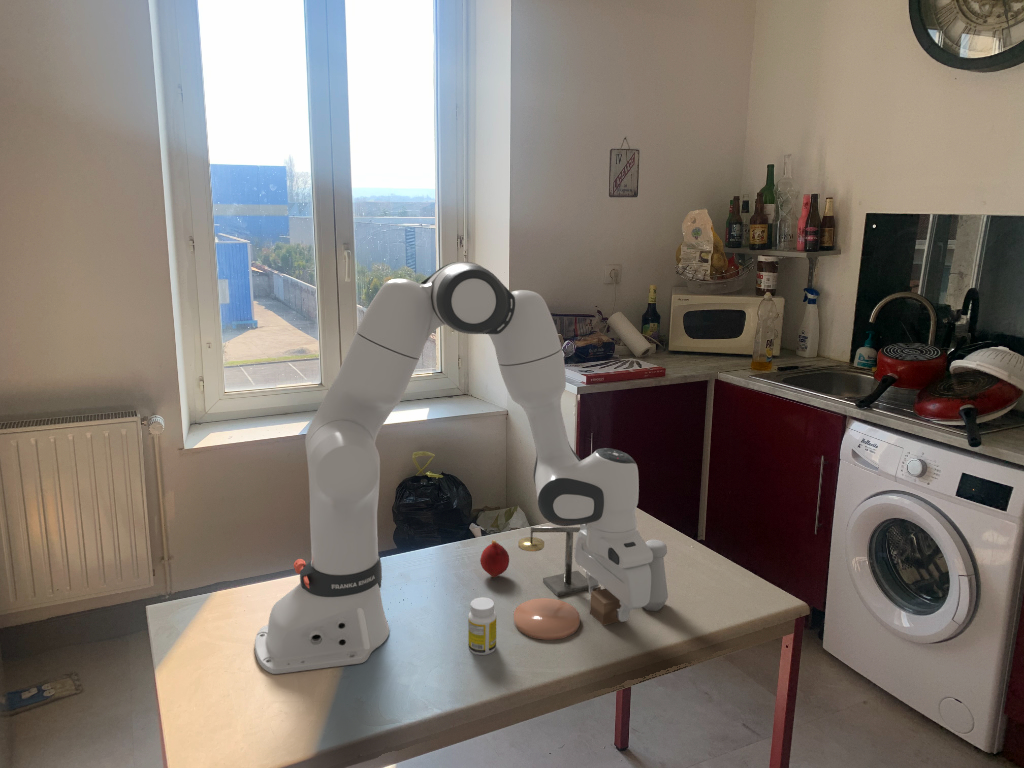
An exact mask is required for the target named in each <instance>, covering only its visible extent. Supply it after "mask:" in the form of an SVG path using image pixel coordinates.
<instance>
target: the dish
mask: <svg viewBox="0 0 1024 768" xmlns="http://www.w3.org/2000/svg"><path fill="white" fill-rule="evenodd" d="M580 622H581V621H580V613H579V611H578V610H577V608H576V607H575V606H573V605H572V604H569V603H568V602H566V601H563V600H560V599H556V598H548V597H542V598H541V597H540V598H533V599H529V600H527V601H524V602H522V603H520V604H519V605H517V607H516V608H515V609H514V612H513V624H514V627H515V628H516V629H517V630H518V631H519V632H520V633H522V634H524V635H525V636H527V637H529V638H532V639H533V638H534V639H537V640H538V639H539V640H543V641H546V640H547V641H555V640H562V639H565V638H568V637H570V636H572V635H573V634H575V633H576V632H577V631H578V629H580V624H581V623H580Z"/></svg>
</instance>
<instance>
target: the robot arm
mask: <svg viewBox="0 0 1024 768" xmlns="http://www.w3.org/2000/svg"><path fill="white" fill-rule="evenodd" d="M443 326H447V327H449V328H450V329H453V330H454V331H456V332H459V333H461V334H467V335H468V334H469V335H488V336H489V338H490V340H491V342H492V345H493V346H494V347H493V348H494V350H495V355H496V359H497V363H498V367H499V370H500V374H501V376H502V380H503V382H504V385H505V387H506V389H507V392H508V394H509V396H510V397H511V399H512V401H514V402H515V403H516V404H517V405H519V406H520V407H522V409H523V411H524V412H525V414H526V417H527V419H528V423H529V427H530V430H531V435H532V438H533V442H534V446H535V451H536V456H535V457H536V458H535V463H534V467H533V476H532V478H533V483H534V487H535V490H536V499H537V505H538V509H539V512H540V514H541V515H542V517H543V518H544V519H545V520H546V521H548V522H549V523H551V524H553V525H555V526H557V527H574V526H579V525H580V526H579V527H580V531H579V532H577V534H576V537H575V538H576V539H575V544H574V555H573V556H574V560H575V563H576V565H577V566H579V567H580V568H581V569H582V570H584V571H585V577H586V578H587V581H588V585H589V589H588V593H589V595H591V592H592V591H596V590H601V588H602V587H603V588H604V589H605V588H606V589H607V590H608V591H609V592H610V593H612V594H613V595H614V596H615V597H616V598H618V599H619V600H620V605H621V608H620V609H616V617H617V618H618V619H619V620H620V621H619V622H623V623H624V622H626V621H628V620H629V617H630V611H631V610H636V609H640V608H643V607H644V606H646V605H647V604H648V603H649V600H650V591H651V570H650V567H649V565H648V563H650V562H652V560H653V553H652V551H651V549H650V548H649V547H648V546H647V544H646V543H645V542H646V541H645V540H644V539H643V537H642V535H641V534H640V532H639V530H638V522H637V516H636V509H637V506H638V504H639V492H640V489H639V486H640V484H639V483H640V482H639V481H640V479H639V477H640V476H639V469H638V465H637V463H636V461H635V460H634V458H633V457H631V456H630V455H629V453H626V452H623V451H622V450H618V449H614V448H609V447H608V448H607V447H603V448H598V449H596V450H595V451H594V452H593V453H591V454H590V455H589V456H587V457H585V458H584V459H581V458H580V457H579V456H578V454H577V453H576V452H575V450H573V448H572V447H571V444H570V441H569V438H568V435H567V430H566V426H565V422H564V417H563V413H562V407H561V405H562V404H561V403H562V402H561V401H562V396H563V393H564V392H565V390H566V388H567V386H566V385H567V383H566V382H567V381H566V379H567V377H566V366H565V365H566V364H565V358H564V353H563V349H562V344H561V341H560V337H559V334H558V330H557V327H556V325H555V321H554V320H553V315H552V314H551V312H550V309H549V307H548V305H547V303H546V301H545V299H544V298H543V297H542V295H541V294H539V293H538V292H535V291H532V290H528V289H526V290H525V289H518V290H514V291H510V290H509V289H508V287H506V286H505V285H504V284H503V282H502V281H501V280H500V279H499V278H498V277H497V276H496V275H495V274H494V273H493V272H492V271H490V270H489V269H487V268H485V267H483V266H482V265H480V264H478V263H475V262H472V261H471V262H470V261H454V262H451V263H448V264H445V265H443V266H442V267H440V268H438V269H437V270H435V271H434V272H433V273H432V274H431V275H429V276H428V277H427V278H425V279H424V280H423V281H421V282H420V283H419V282H416V281H414V280H412V279H407V278H393V279H390V280H388V281H387V280H386V282H385V283H383V284H382V285H381V286H380V289H379V290H377V293H376V294H375V296H374V298H373V299H372V300H371V302H370V303H369V305H368V307H367V309H366V310H365V312H364V314H363V315H362V318H361V320H360V322H359V324H358V326H357V328H356V331H355V332H354V333H355V334H354V336H353V337H352V339H351V342H350V345H349V347H348V350H347V352H346V355H345V357H344V359H343V361H342V364H341V365H340V368H339V370H338V373H337V374H336V376H335V379H334V381H333V382H332V384H331V386H330V387H329V389H328V391H327V392H326V394H325V395H324V397H323V399H322V402H321V404H320V405H319V407H318V408H317V411H316V413H315V415H314V417H313V419H312V421H311V423H310V424H309V427H308V429H307V432H306V434H305V438H304V439H305V440H304V444H305V452H306V459H307V470H308V471H307V472H308V487H309V488H308V489H309V526H310V527H309V528H310V531H309V532H310V550H311V551H310V552H311V559H310V560H309V562H307V563H306V561H305V560H304V559H302V558H297V559H296V560H295V561H294V563H293V567H294V571H295V573H296V574H298V575H299V581H300V583H299V584H297V585H296V586H295V587H294V588H293V589H291V590H290V591H289V592H287V593H286V594H285V595H283V597H281V598H280V599H279V600H277V601H276V602H275V603H273V606H272V608H271V610H270V613H269V618H268V624H266V625H263V626H262V627H261V628H260V629H259V630H258V632H257V633H256V636H255V639H254V653H255V657H256V660H257V662H258V664H259V666H261V668H262V669H263V670H265V671H266V672H268V673H270V674H272V675H279V674H286V673H293V672H294V673H295V672H301V671H310V670H312V671H313V670H319V669H326V668H334V667H341V666H349V665H359V664H362V663H364V662H366V661H367V660H368V659H369V657H370V656H371V654H372V652H373V651H374V650H376V649H377V648H379V647H380V646H381V645H382V644H383V643H384V642H386V640H387V638H388V637H389V634H390V625H389V623H388V621H387V617H386V615H385V610H384V605H383V601H382V599H383V598H382V594H381V588H382V580H383V576H382V573H383V569H382V567H383V566H382V562H381V557H380V556H379V547H378V544H379V543H378V542H379V541H378V540H379V539H378V509H379V508H378V507H379V497H380V495H379V493H380V480H381V479H380V478H381V459H380V458H381V457H380V453H379V451H378V448H377V446H376V442H377V441H376V440H377V436H378V435H379V432H380V430H381V429H382V426H383V425H384V424H385V422H386V421H387V420H388V418H389V416H390V415H391V413H392V412H393V410H394V409H395V408H396V407H397V406H398V405H399V404H400V402H401V401H402V399H403V397H404V394H405V392H406V390H407V387H408V385H409V383H410V381H411V378H412V376H413V374H414V371H415V370H416V368H417V365H418V363H419V360H420V358H421V356H422V353H423V351H424V349H425V348H424V347H425V345H426V343H427V341H429V339H430V337H431V335H432V334H433V333H434V332H435V331H436V330H437V329H439V328H441V327H443ZM600 585H601V586H600Z"/></svg>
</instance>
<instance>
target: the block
mask: <svg viewBox="0 0 1024 768" xmlns="http://www.w3.org/2000/svg"><path fill="white" fill-rule="evenodd" d="M589 608H590V610H589V613H590V615H591V616H592V617H593V618H595V620H596V621H597V622H599V623H600V624H601V626H605V625H606V626H607V625H609V624H610V625H611V624H613V623H618V622H621V621H620V620H619V619H618V618H617V617H616V609H620V608H621V605H620V600H619V599H618V598H616V597H615V596H614V595H613V594H612V593H610V592H609V591H608V590H607V589H606V588H605V587H604V588H602V589H601V590H596V591H592V592H591V594H590V607H589Z"/></svg>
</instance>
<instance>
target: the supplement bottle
mask: <svg viewBox="0 0 1024 768" xmlns="http://www.w3.org/2000/svg"><path fill="white" fill-rule="evenodd" d="M469 606H470V608H469V610H470V612H469V613H468V619H467V620H468V621H467V625H468V626H467V627H468V631H467V632H468V633H467V635H468V636H467V638H468V649H469V650H470V651H469V652H471V653H472V654H474V655H478V656H479V655H480V656H485V655H489V654H491V653H493V652H494V651H495V650H496V649H497V613H496V611H495V603H494V600H493V599H491V598H489V597H482V596H481V597H476V598H473V600H471V602H470V605H469Z"/></svg>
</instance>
